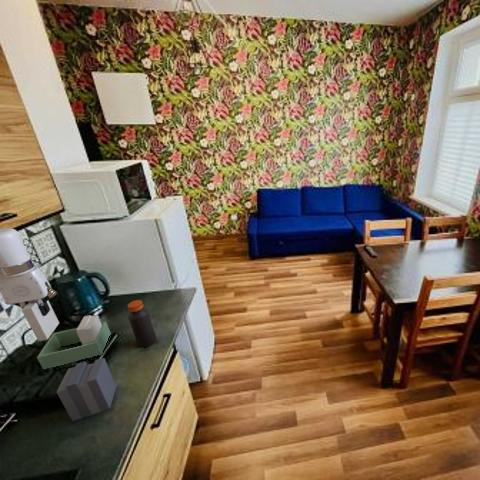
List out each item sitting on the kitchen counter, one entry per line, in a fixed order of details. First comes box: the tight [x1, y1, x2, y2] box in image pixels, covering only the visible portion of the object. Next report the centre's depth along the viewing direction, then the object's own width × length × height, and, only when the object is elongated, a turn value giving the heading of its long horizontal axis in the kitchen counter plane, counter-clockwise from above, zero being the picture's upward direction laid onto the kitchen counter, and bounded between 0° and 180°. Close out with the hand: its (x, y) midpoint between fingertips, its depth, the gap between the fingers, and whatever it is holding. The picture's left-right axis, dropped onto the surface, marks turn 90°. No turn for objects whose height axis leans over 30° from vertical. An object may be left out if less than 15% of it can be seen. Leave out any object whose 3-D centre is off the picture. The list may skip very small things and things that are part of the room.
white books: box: [76, 314, 102, 345], centre depth 107 cm, size 4×9×13 cm, turn 24°
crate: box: [36, 321, 112, 370], centre depth 106 cm, size 18×14×8 cm
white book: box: [21, 300, 60, 342], centre depth 91 cm, size 2×9×13 cm, turn 23°
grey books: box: [56, 357, 117, 422], centre depth 85 cm, size 10×9×14 cm
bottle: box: [127, 299, 158, 349], centre depth 109 cm, size 7×7×20 cm
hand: (40, 314), depth 91 cm, fingers closed on white book, 2 cm apart
